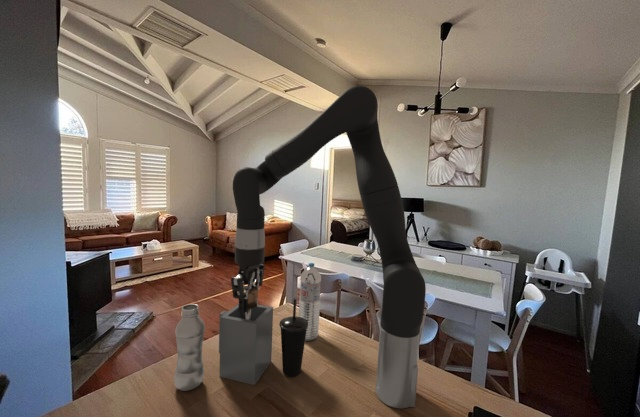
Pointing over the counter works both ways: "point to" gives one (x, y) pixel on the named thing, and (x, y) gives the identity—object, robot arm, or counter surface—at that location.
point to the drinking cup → (293, 343)
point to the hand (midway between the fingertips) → (248, 307)
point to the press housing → (245, 343)
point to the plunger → (251, 301)
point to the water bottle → (310, 300)
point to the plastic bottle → (189, 349)
